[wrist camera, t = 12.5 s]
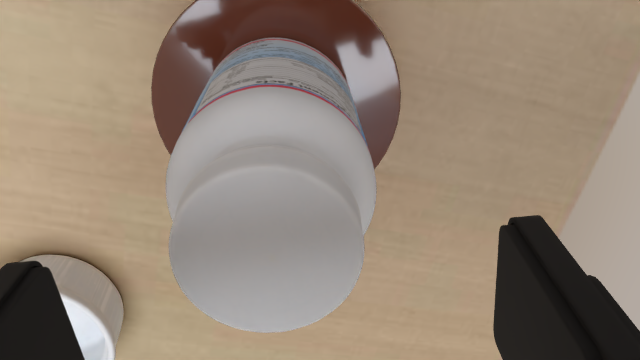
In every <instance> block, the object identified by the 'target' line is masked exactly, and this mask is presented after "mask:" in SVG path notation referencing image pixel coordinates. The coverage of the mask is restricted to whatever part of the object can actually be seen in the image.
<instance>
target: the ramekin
mask: <svg viewBox="0 0 640 360" xmlns="http://www.w3.org/2000/svg"><path fill="white" fill-rule="evenodd" d="M25 261H38V262H40V263H41V264H42V266H43V267H48V268H49V269H50V270H51V272H52V275H53V277H54V280H55V283H56V285H57V288H58V290H59V293H60V296H61V298H62V301H63V304H64V306H65V309H66V311H67V314H68V317H69V319H70V322H71V325H72V327H73V330H74V332H75V335H76V338H77V340H78V343H79V346H80V348H81V351H82V353H83V356H84V359H85V360H115V355H116V344H117V340H118V337H119V333H120V330H121V326H122V322H123V313H124V309H123V303H122V299H121V296H120V294H119V292H118V290H117V289H116V287H115V286H114V284H113V283H112V282H111V281H110V279H109V278H108V277H107V276H106V275H104V274H103V273H102V272H101V271H99V270H98V269H97V268H95V267H94V266H92V265H90V264H88V263H86V262H84V261H81V260H79V259H76V258H72V257H68V256H63V255H39V256H34V257H30V258H27V259H24V260H22V261H20V262H25Z"/></svg>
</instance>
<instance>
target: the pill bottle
mask: <svg viewBox="0 0 640 360" xmlns="http://www.w3.org/2000/svg"><path fill="white" fill-rule="evenodd" d="M166 198H167V204H168V209H169V212H170V215H171V218H172V221H173V224H172V227H171V232H170V237H169V257H170V263H171V267H172V271H173V273H174V276H175V278H176V280H177V282H178V284H179V286H180V288H181V290H182V291H183V293H184V294H185V295H186V296H187V298H188V299H189V300H190V301H191V302H192V303H193V304H194V305H195V306H196V307H197V308H198V309H200V310H201V311H202V312H204V313H205V314H206V315H208V316H209V317H211V318H213V319H215V320H216V321H218V322H220V323H223V324H225V325H228V326H230V327H233V328H237V329H241V330H246V331H252V332H264V333H270V332H284V331H289V330H294V329H298V328H301V327H304V326H307V325H310V324H312V323H314V322H316V321H318V320H320V319H322V318H323V317H325V316H326V315H328V314H329V313H331V312H332V311H333V310H335V309H336V308H337V307H338V306H339V305H340V304H341V303H342V302H343V301H344V300H345V299H346V298H347V297H348V295H349V294H350V292H351V291H352V289H353V288H354V286H355V284H356V282H357V280H358V278H359V275H360V272H361V269H362V265H363V259H364V234H365V232H366V231H367V229H368V227H369V224H370V222H371V219H372V216H373V213H374V208H375V203H376V178H375V172H374V167H373V162H372V159H371V155H370V152H369V149H368V146H367V143H366V139H365V135H364V133H363V130H362V127H361V124H360V121H359V117H358V114H357V110H356V108H355V105H354V101H353V97H352V95H351V92H350V88H349V86H348V84H347V82H346V80H345V78H344V76H343V75H342V73H341V72H340V70H339V69H338V68H337V66H336V65H335V64H334V63H333V62H332V61H331V60H330V59H329V58H328V57H326V56H325V55H324V54H322V53H321V52H319V51H318V50H316V49H314V48H313V47H310V46H308V45H306V44H304V43H301V42H298V41H295V40H291V39H286V38H264V39H259V40H255V41H251V42H249V43H246V44H244V45H242V46H240V47H238V48H237V49H235V50H234V51H232V52H231V53H230V54H229V55H227V56H226V57H225V58H224V59H223V60H222V61H221V62H220V64H219V65H218V66H217V67H216V69H215V70H214V72H213V74H212V75H211V77H210V79H209V81H208V83H207V85H206V86H205V88H204V90H203V92H202V94H201V95H200V97H199V99H198V101H197V103H196V105H195V107H194V109H193V111H192V113H191V115H190V117H189V119H188V121H187V123H186V125H185V127H184V129H183V131H182V132H181V134H180V136H179V138H178V140H177V142H176V145H175V147H174V149H173V152H172V154H171V157H170V161H169V164H168V168H167V174H166Z"/></svg>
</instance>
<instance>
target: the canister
mask: <svg viewBox="0 0 640 360" xmlns="http://www.w3.org/2000/svg"><path fill="white" fill-rule="evenodd" d="M264 38H286V39H291V40H295V41H298V42H301V43H304V44H306V45H308V46H310V47H313V48H314V49H316V50H318V51H319V52H321V53H322V54H324V55H325V56H326V57H328V58H329V59H330V60H331V61H332V62H333V63H334V64H335V65H336V66H337V68H338V69H339V70H340V72H341V73H342V75H343V76H344V78H345V80H346V82H347V84H348V86H349V88H350V92H351V95H352V97H353V101H354V105H355V108H356V110H357V114H358V117H359V121H360V124H361V127H362V130H363V133H364V135H365V139H366V143H367V146H368V149H369V152H370V155H371V159H372V162H373V167H374V169H375V168H376V167H377V165H378V164H379V163H380V161H381V160H382V158H383V156H384V155H385V153H386V152H387V150H388V148H389V145H390V143H391V141H392V139H393V136H394V133H395V130H396V127H397V124H398V118H399V112H400V100H401V90H400V80H399V74H398V70H397V66H396V62H395V59H394V56H393V54H392V51H391V49H390V46H389V44H388V43H387V41H386V39H385V37H384V35H383V34H382V32H381V31H380V29H379V28H378V26H377V25H376V24H375V22H374V21H373V20H372V18H371V17H370V16H369V15H368V14H367V13H366V12H365V11H364V10H363V9H362V8H361V7H360V6H359V5H358V4H357V3H356V2H355V1H353V0H195V1H194V2H193V3H192V4H191V5H190V6H189V7H188V8H187V9H186V10H185V11H183V12H182V14H181V15H180V16H179V17H178V19H177V20H176V21H175V22H174V23H173V25H172V26H171V28H170V29H169V31H168V33H167V35H166V36H165V38H164V40H163V42H162V44H161V47H160V49H159V52H158V54H157V57H156V61H155V65H154V69H153V76H152V86H151V91H152V106H153V112H154V118H155V121H156V125H157V128H158V131H159V134H160V136H161V138H162V140H163V142H164V145H165V147H166V149H167V150H168V152H169V153H170V155H171V154H172V152H173V149H174V147H175V145H176V142H177V140H178V138H179V136H180V134H181V132H182V131H183V129H184V127H185V125H186V123H187V121H188V119H189V117H190V115H191V113H192V111H193V109H194V107H195V105H196V103H197V101H198V99H199V97H200V95H201V94H202V92H203V90H204V88H205V86H206V85H207V83H208V81H209V79H210V77H211V75H212V74H213V72H214V70H215V69H216V67H217V66H218V65H219V64H220V62H221V61H222V60H223V59H224V58H225V57H226V56H227V55H229V54H230V53H231V52H232V51H234V50H235V49H237V48H238V47H240V46H242V45H244V44H246V43H249V42H251V41H255V40H259V39H264Z"/></svg>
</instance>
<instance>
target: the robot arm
mask: <svg viewBox="0 0 640 360" xmlns="http://www.w3.org/2000/svg"><path fill="white" fill-rule="evenodd" d="M494 337H495V342H496V345H497V347H498V350H499V352H500V354H501V357H502V359H503V360H640V331H639V330H638V329H637V327H636V326H635V325H634V324H633V322H632V321H631V320H630V319H629V317H628V316H627V315H626V313H625V312H624V311H623V310H622V309H621V307H620V306H619V305H618V304H617V302H616V301H615V300H614V299H613V297H612V296H611V295H610V293H609V292H608V291H607V290H606V288H605V287H604V286H603V285H602V283H601V282H600V281H599V280H598V279H597V278H596V277H593V276H591V275H588V276H587V275H586V274H585V272H584V271H583V270H582V269H581V267H580V266H579V265H578V263H577V262H576V261H575V259H574V258H573V257H572V256H571V254H570V253H569V252H568V251H567V249H566V248H565V246H564V245H563V244H562V242H561V241H560V240H559V239H558V237H557V236H556V235H555V233H554V232H553V231H552V230H551V228H550V227H549V226H548V224H547V223H546V222H545V220H544V219H543V218H542V217H541V216H539V215H535V216H524V217H513V218H510V219H509V222H508V225H503V226H501V227H500V231H499V245H498V262H497V278H496V294H495V310H494ZM0 360H85V359H84V356H83V353H82V351H81V348H80V346H79V343H78V340H77V338H76V335H75V332H74V330H73V327H72V325H71V322H70V319H69V317H68V314H67V311H66V309H65V306H64V304H63V301H62V298H61V296H60V293H59V290H58V288H57V285H56V283H55V280H54V277H53V275H52V272H51V270H50V269H49V268H48V267H43V266H42V264H41V263H40V262H38V261H25V262H14V263H7V264H6V265H4V266H3V267H2V268H1V269H0Z"/></svg>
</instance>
